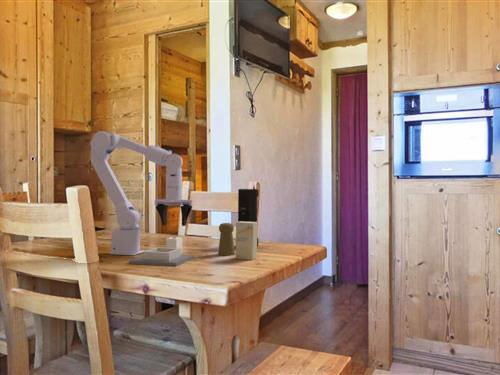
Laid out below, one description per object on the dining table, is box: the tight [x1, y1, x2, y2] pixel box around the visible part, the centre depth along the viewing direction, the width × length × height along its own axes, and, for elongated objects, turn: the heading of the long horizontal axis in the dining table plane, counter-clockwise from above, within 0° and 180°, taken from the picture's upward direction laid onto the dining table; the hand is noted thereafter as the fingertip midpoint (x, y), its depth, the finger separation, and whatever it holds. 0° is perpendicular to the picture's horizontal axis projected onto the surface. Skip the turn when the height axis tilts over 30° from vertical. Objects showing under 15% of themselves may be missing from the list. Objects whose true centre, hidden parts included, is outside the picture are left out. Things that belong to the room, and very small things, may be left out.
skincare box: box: [235, 221, 258, 261], centre depth 142 cm, size 6×4×12 cm
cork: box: [217, 222, 236, 257], centre depth 151 cm, size 6×6×11 cm
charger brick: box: [165, 236, 183, 254], centre depth 154 cm, size 4×5×6 cm
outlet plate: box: [128, 246, 195, 267], centre depth 138 cm, size 16×14×4 cm
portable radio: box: [237, 186, 259, 248], centre depth 168 cm, size 8×6×25 cm
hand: (174, 225), depth 154 cm, fingers open, 7 cm apart
